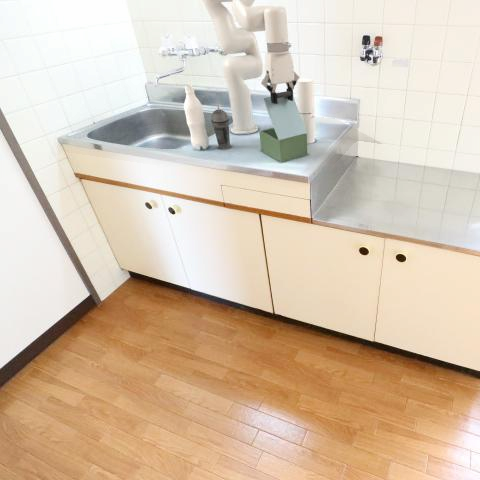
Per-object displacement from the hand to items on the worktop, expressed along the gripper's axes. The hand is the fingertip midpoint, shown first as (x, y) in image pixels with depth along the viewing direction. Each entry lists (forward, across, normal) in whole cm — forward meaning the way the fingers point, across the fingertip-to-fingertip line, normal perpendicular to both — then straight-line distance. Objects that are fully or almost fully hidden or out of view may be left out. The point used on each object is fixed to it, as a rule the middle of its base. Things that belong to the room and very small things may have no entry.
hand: (282, 101), depth 140 cm
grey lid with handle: (+6, 0, +1) cm, 6 cm away
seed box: (+21, 0, -2) cm, 21 cm away
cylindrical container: (+21, -15, -8) cm, 27 cm away
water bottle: (+20, +25, -29) cm, 43 cm away
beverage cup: (+20, +17, -23) cm, 35 cm away
